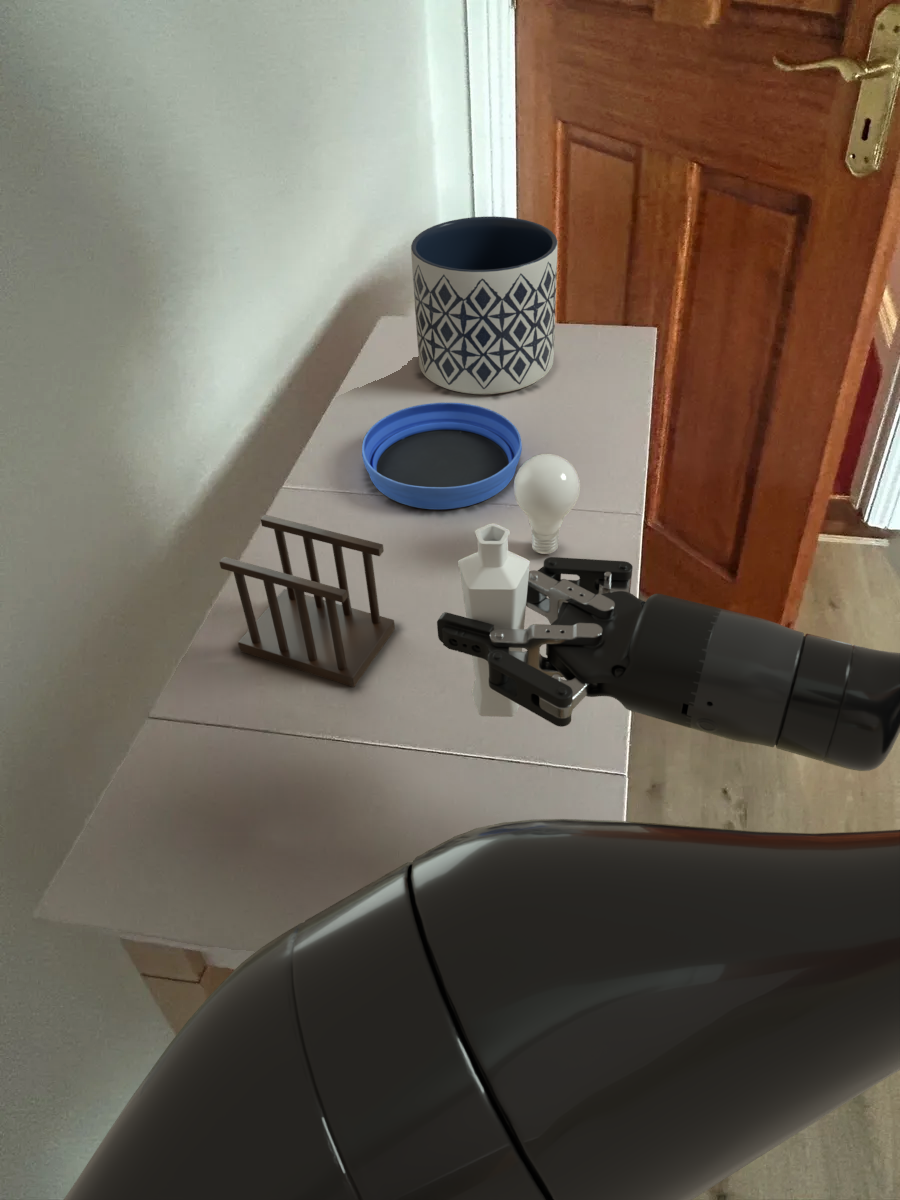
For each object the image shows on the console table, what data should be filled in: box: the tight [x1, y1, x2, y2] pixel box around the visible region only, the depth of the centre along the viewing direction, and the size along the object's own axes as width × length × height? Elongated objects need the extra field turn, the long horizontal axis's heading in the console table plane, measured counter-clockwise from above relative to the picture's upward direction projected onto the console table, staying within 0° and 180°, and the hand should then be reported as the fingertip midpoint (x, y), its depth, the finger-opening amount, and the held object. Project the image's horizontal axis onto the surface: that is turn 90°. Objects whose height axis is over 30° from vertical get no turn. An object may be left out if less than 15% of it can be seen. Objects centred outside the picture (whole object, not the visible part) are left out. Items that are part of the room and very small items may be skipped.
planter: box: [410, 215, 559, 395], centre depth 118 cm, size 18×18×16 cm
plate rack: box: [219, 514, 396, 688], centre depth 81 cm, size 12×8×10 cm, turn 66°
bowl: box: [361, 402, 523, 510], centre depth 104 cm, size 18×18×4 cm
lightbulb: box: [513, 453, 581, 555], centre depth 89 cm, size 6×6×11 cm
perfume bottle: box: [457, 522, 531, 718], centre depth 61 cm, size 5×4×15 cm
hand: (457, 602), depth 61 cm, fingers closed on perfume bottle, 4 cm apart
